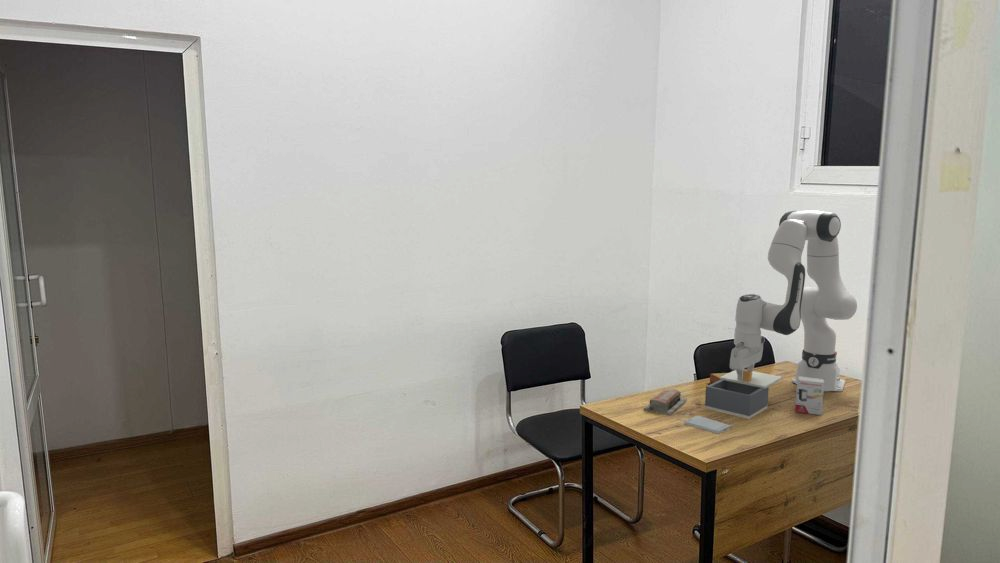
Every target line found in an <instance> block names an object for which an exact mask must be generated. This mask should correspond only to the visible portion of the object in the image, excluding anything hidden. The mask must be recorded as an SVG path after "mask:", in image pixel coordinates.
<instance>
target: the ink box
mask: <svg viewBox="0 0 1000 563" xmlns="http://www.w3.org/2000/svg"><path fill="white" fill-rule="evenodd" d="M795 392H796V393H795V401H794V411H795V412H796V413H803V414H810V415H817V416H818V415H819V416H822V414H823V405H824V404H823V402H824V392H825V391H824V380H823V379H817V378H809V377H802V376H799V377H798V379H797V384H796V391H795Z"/></svg>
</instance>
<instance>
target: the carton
mask: <svg viewBox="0 0 1000 563" xmlns="http://www.w3.org/2000/svg"><path fill="white" fill-rule="evenodd" d="M728 373H729V372H721V373H719V372H718V373H710V374H709V383H710V384H711V383H714V382H717V381H719V380H721V379H720V377H721V376H723V375H726V374H728Z"/></svg>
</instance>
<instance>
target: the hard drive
mask: <svg viewBox="0 0 1000 563" xmlns="http://www.w3.org/2000/svg"><path fill="white" fill-rule="evenodd" d="M686 424H687V426H689V427H693V428H696V429H701V430H704V431H707V432H710V433H715V434H717V435H720V434H723V433H724V432H726V431H728V430H730V429H732V428H733V426H732V424H727V423H724V422H720V421H718V420H717V421H716V420H714V419H710V418H707V417H704V416H700V415H695V416H693V417H690V418H689V419H686V420H684V425H686Z"/></svg>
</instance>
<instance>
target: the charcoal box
mask: <svg viewBox="0 0 1000 563" xmlns="http://www.w3.org/2000/svg"><path fill="white" fill-rule="evenodd" d="M769 388H770V386H769V387H767V388H766V389H764V388H759V387H754V386H750V385H745V384H740V383H735V382H731V381H726V380H719V381H717V382H714V383H712V384H711V383H710V384H709V385H707V386H705V399H704V409H705V410H711V411H714V412H719V413H722V414H727V415H731V416H735V417H739V418H742V419H743V418H744V419H747V420H750V419H752V418H754V417H756V416H757V415H758V414H760V413H762V412H763V411H765V410H766V409H768V402H769V390H770V389H769Z"/></svg>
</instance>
